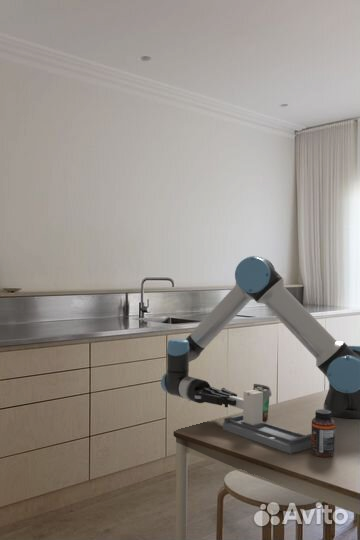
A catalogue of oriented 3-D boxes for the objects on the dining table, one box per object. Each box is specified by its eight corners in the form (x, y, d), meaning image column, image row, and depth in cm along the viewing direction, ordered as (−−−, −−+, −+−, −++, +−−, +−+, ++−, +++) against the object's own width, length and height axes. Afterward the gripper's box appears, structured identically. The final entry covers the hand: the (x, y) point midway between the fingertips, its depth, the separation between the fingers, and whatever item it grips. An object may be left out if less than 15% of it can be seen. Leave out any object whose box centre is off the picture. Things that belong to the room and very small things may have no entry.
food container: (270, 425, 164) (271, 392, 164) (250, 423, 165) (251, 391, 165) (271, 414, 176) (272, 384, 176) (253, 413, 177) (253, 383, 177)
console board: (246, 423, 165) (246, 413, 165) (314, 446, 144) (314, 434, 144) (222, 429, 159) (223, 418, 159) (290, 453, 138) (290, 441, 138)
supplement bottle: (308, 450, 141) (308, 408, 141) (329, 449, 142) (330, 407, 142) (315, 458, 135) (315, 414, 135) (338, 457, 136) (338, 414, 136)
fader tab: (252, 422, 159) (252, 389, 159) (264, 426, 155) (265, 392, 155) (240, 425, 156) (241, 391, 156) (252, 429, 152) (253, 394, 152)
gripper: (210, 398, 180) (260, 413, 161) (179, 404, 172) (229, 421, 153) (210, 376, 180) (261, 389, 161) (180, 381, 172) (230, 395, 153)
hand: (245, 404), depth 157 cm, fingers closed
